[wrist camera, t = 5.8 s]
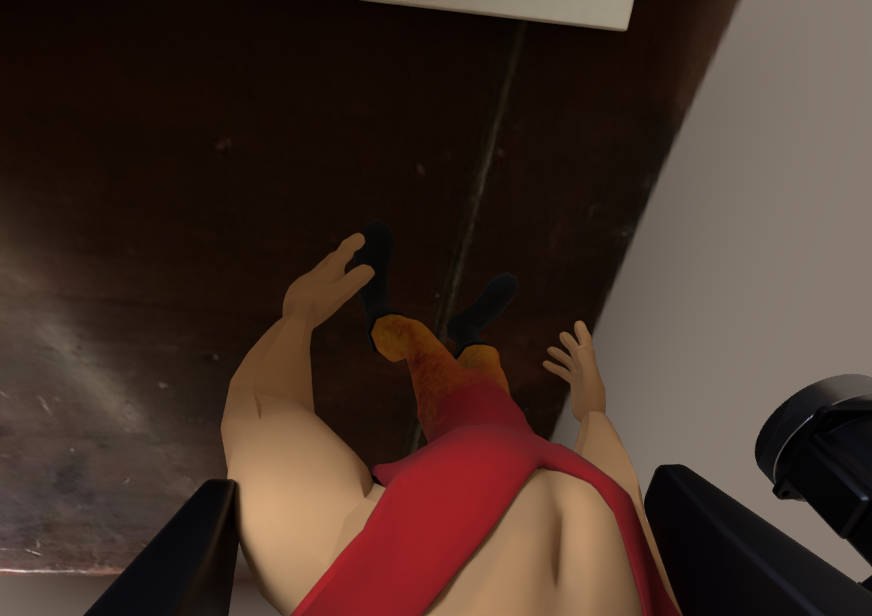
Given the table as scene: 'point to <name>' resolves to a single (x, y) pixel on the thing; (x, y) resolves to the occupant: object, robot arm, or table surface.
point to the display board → (539, 10)
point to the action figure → (432, 474)
